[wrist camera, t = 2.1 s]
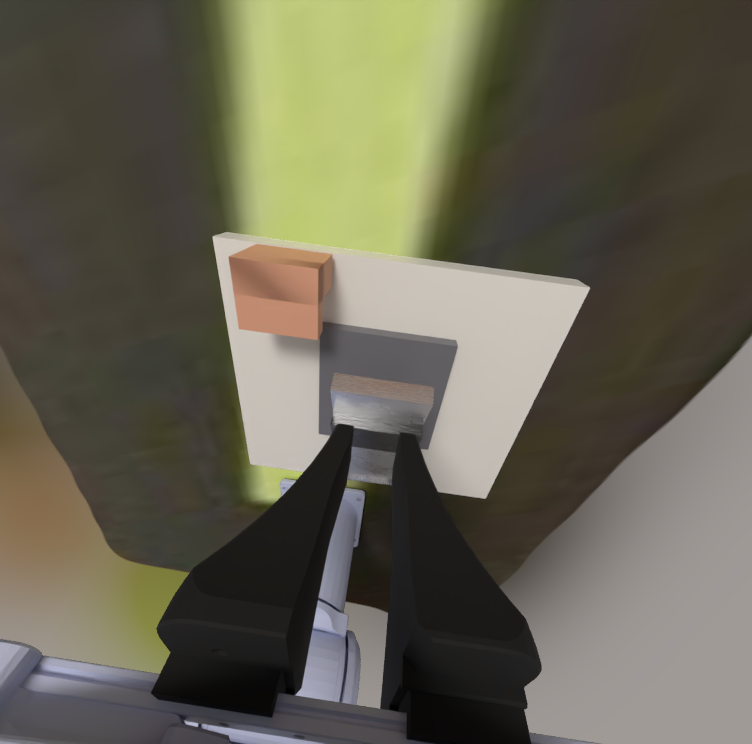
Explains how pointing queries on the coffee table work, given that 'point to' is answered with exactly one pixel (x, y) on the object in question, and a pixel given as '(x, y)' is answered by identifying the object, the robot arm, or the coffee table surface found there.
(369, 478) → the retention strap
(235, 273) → the block
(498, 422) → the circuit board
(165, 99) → the coffee table surface
